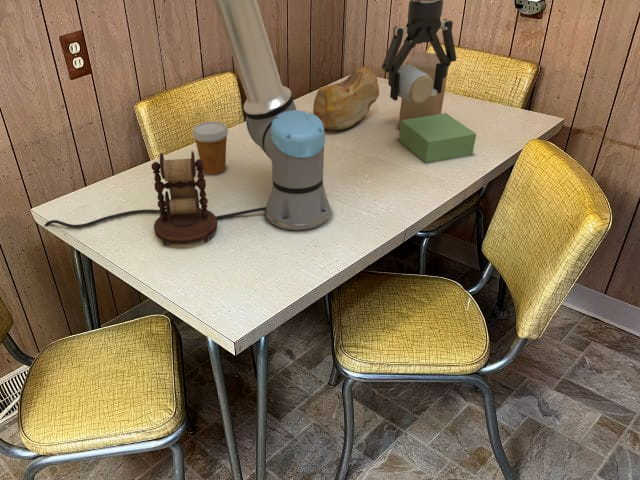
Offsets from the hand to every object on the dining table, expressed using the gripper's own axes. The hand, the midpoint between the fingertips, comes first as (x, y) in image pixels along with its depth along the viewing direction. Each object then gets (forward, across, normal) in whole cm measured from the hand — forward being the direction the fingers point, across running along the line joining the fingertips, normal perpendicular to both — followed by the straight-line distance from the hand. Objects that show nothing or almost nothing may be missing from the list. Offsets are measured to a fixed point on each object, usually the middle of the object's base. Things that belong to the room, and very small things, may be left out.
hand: (415, 95), depth 147 cm
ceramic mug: (+1, 0, 0) cm, 1 cm away
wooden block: (+19, +14, +22) cm, 32 cm away
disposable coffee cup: (+18, -51, +15) cm, 56 cm away
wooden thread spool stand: (+18, -63, -15) cm, 68 cm away
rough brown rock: (+19, -6, +35) cm, 40 cm away
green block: (+19, +11, +7) cm, 23 cm away
